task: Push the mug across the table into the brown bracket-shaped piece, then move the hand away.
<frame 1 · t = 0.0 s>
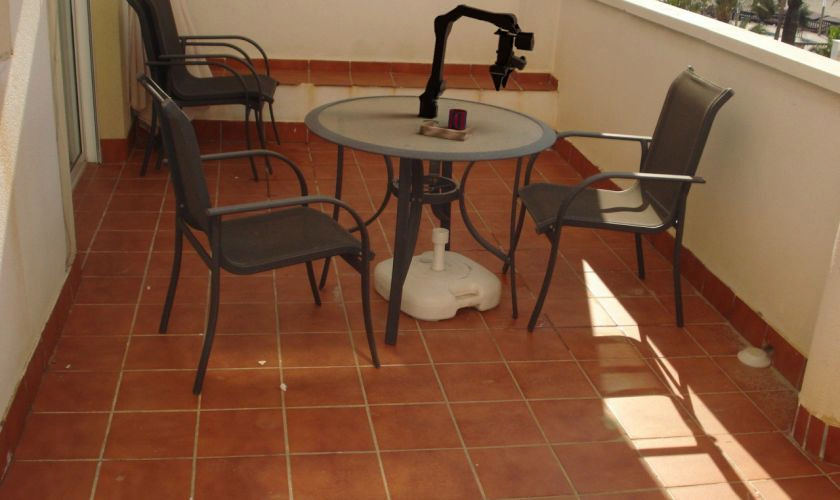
hand: (500, 89, 349), 15 cm above the table, fingers open, 9 cm apart
brown bracket-shaped piece: (446, 134, 336), on the table
mug: (455, 129, 345), on the table
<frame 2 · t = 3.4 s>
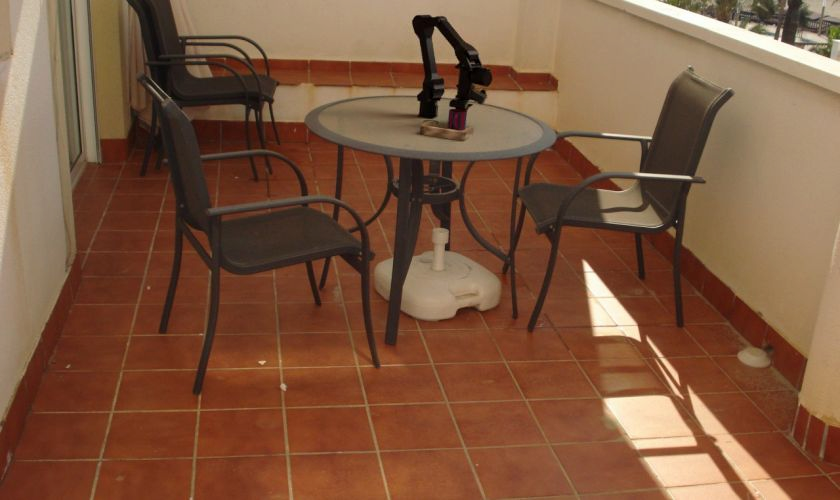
hand: (461, 122, 352), 1 cm above the table, fingers closed
mug: (455, 129, 345), on the table, touching gripper
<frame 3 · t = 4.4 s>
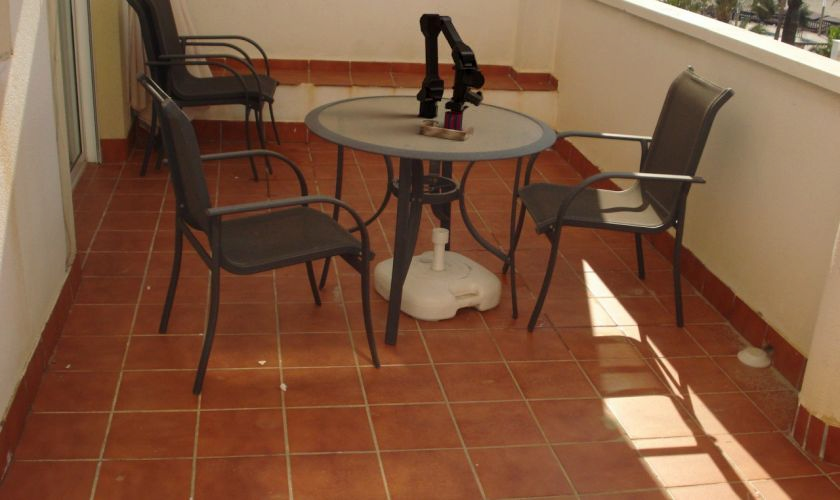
hand: (457, 124, 347), 1 cm above the table, fingers closed
mug: (451, 132, 340), on the table, touching gripper
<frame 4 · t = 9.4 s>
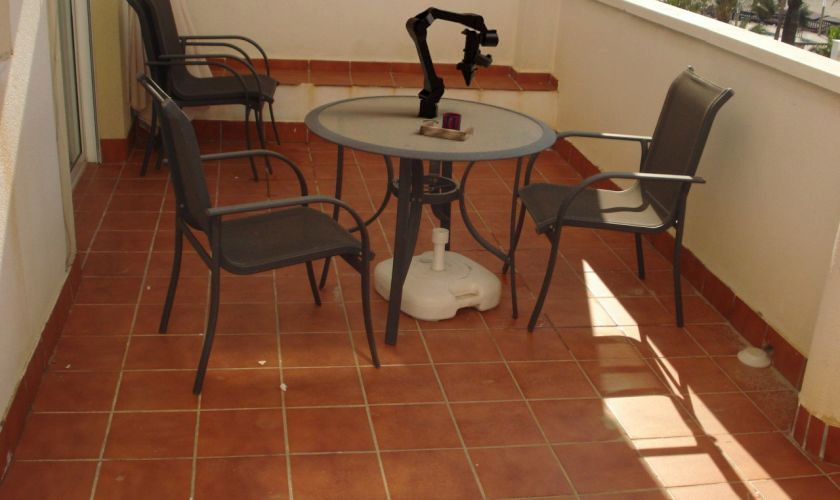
hand: (468, 86, 366), 12 cm above the table, fingers closed
mug: (449, 134, 338), on the table
at the end: mug inside the target area (2.1 cm from its centre), on the table; mug tilted 0°; mug moved 8.4 cm from its start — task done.
